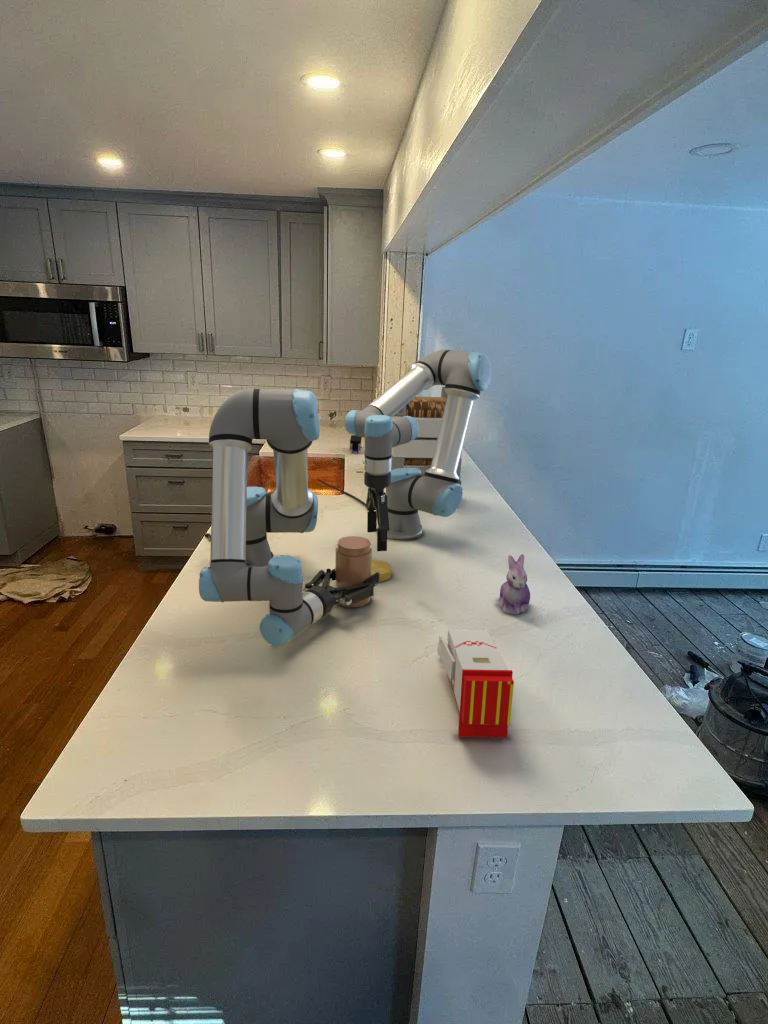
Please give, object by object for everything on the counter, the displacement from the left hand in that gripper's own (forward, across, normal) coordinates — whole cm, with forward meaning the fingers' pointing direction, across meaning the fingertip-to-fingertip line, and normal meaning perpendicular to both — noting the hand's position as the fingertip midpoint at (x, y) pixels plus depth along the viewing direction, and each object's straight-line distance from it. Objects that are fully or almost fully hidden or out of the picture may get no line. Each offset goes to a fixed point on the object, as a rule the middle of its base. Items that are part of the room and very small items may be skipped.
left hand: (361, 572), depth 156 cm
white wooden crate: (+119, -42, -6) cm, 126 cm away
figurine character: (+136, -91, -6) cm, 164 cm away
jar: (-4, 0, -6) cm, 8 cm away
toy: (-24, +42, -6) cm, 49 cm away
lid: (+12, -3, -4) cm, 13 cm away
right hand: (+13, -3, +4) cm, 14 cm away
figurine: (+17, +38, -6) cm, 42 cm away
